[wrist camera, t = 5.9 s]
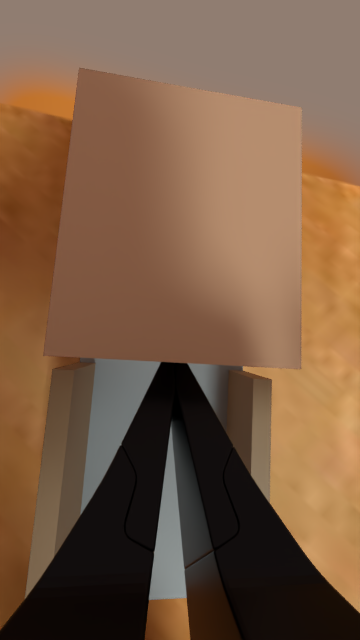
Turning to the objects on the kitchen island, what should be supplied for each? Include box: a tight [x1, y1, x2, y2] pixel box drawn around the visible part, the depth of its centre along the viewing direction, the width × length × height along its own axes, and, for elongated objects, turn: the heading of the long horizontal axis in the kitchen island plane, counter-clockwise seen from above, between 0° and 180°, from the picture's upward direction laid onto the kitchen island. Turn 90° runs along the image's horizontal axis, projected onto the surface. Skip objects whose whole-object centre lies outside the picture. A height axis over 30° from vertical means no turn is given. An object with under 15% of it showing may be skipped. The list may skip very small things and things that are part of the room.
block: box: [43, 68, 302, 369], centre depth 12 cm, size 9×8×9 cm
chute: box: [25, 358, 272, 600], centre depth 14 cm, size 26×11×5 cm, turn 176°
